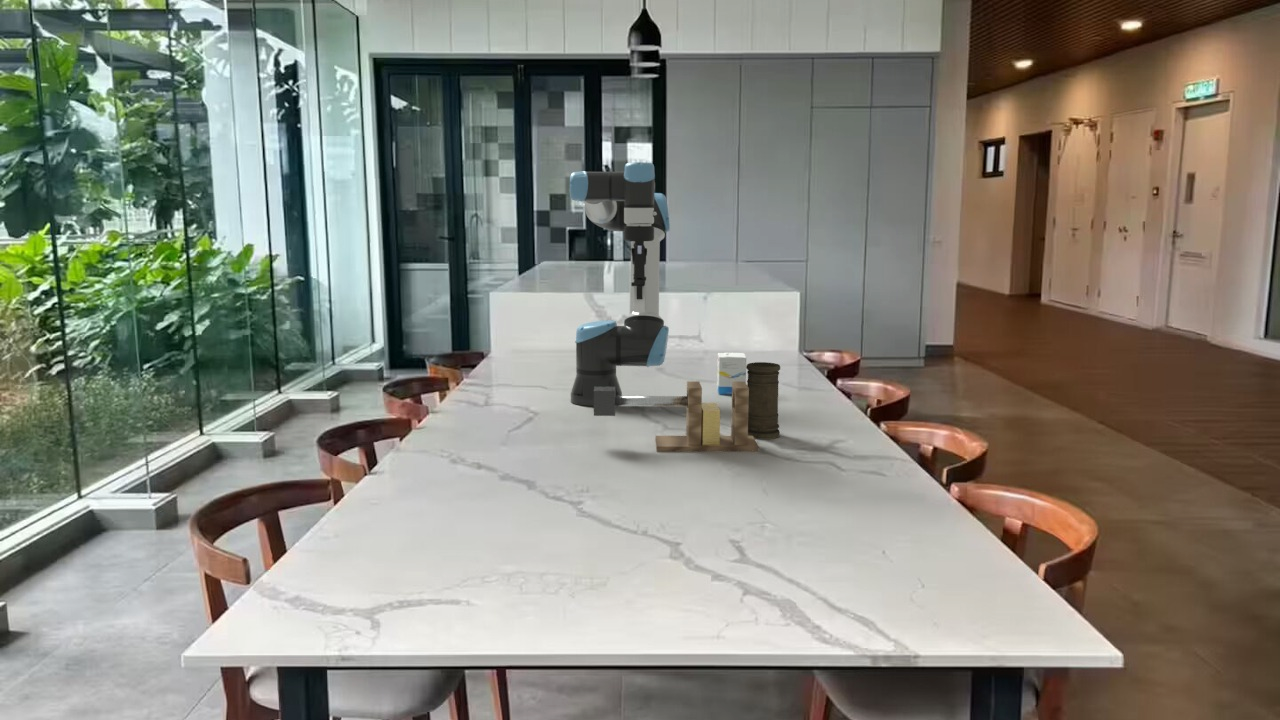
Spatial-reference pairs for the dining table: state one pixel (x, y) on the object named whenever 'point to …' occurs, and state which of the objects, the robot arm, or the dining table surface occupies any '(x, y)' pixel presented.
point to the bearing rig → (693, 424)
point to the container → (763, 400)
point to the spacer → (710, 424)
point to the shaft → (630, 401)
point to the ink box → (730, 371)
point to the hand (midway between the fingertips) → (638, 309)
